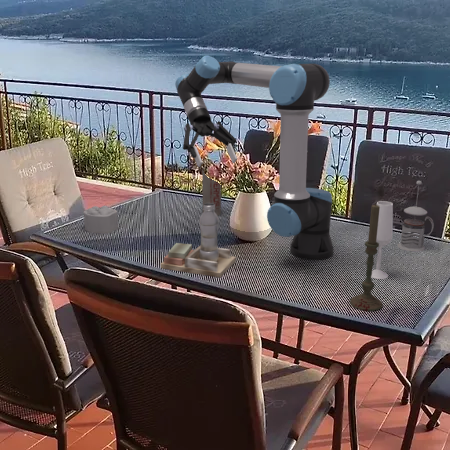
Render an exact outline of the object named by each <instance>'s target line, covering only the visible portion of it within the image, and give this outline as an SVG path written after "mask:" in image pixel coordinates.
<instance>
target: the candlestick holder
mask: <svg viewBox="0 0 450 450" xmlns="http://www.w3.org/2000/svg"><path fill="white" fill-rule="evenodd" d="M379 209H380V206H378V205H377V203H374V204H372V205H371V208H370V217H369V226H368V227H369V228H368V240H367V241H365V243H364V246H366V247H365V251H364V252H365V254H366V255H368V256H367V259H366V261H365V263H366V264H365V265H366V272H365V273H366V274H365V275H366V277H365V279H364V280H363V281H362V282H361V288H362V289H363V293H361V294H357V295H355V296H353V297H351V298H350V300H349V304H350V306H351V307H353V308H354V307H355V308H354V309H356V308H358V309H357V310H359V309H360V310H359V311H362V310H364V311H363V312H376V311H375V310H377V311H379V309H380V310H381V309H382V308H383V307H384V306H383V305H384V304H383V302H382V301H381V300H380V299H379V298H378V297H376V296H374V295H373V294H372V291H373V290H374V288H375V283H374V282H373V280H372V277H371V275H372V270H373V268H374V267H373V266H374V265H375V262H374V261H375V258H374V256H375V255H378V249H377V248H378V246H379V243H377V242H376V239H377V229H378V219H379Z"/></svg>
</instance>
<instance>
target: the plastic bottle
mask: <svg viewBox="0 0 450 450" xmlns="http://www.w3.org/2000/svg"><path fill="white" fill-rule="evenodd" d="M203 210H204V212H203ZM214 210H215V204H214V203H205V204H204V205H203V204H202V213H201V215H200V216H199V221H198V222H199V228H200V245H201V248H200V253H199V257H200V260H207V261H214V262H217V260H218V257H219V252H218V248H219V247H218V230H219V223H220V219H219V216H217V214H216V213H215V212H214Z"/></svg>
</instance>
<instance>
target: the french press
mask: <svg viewBox="0 0 450 450" xmlns="http://www.w3.org/2000/svg"><path fill="white" fill-rule="evenodd" d="M422 183H423V182H422V181H421V180H417V181H416V185H418V187H417V191H420V185H422ZM418 196H419V192H417V195H416V199H418ZM417 205H418V200H416V202H415V206H409V207H407V208H404V209H403V212H404V213H405V214H407V215H410V216H414V218H406V219H404V220H403V224H402V228H401V229H402V230H401V235H400V236H401V238H400V242H399V243H397V248H399V249H400V250H402V251H407V252H415V253H417V252H423V251H426V247H425V245H424V242H425V238H426V237H428V236H430V235H431V233H432V232H433V231H434V226H435V224H434V220H433V219H432V218H431V217H430V216H428V215H427V214H428V210H426V209H424V208H423V207H420V206H417ZM416 216H418V217H419V216H425V217H424V220H421V219H416ZM427 220H428V221H430V223H431V231H430V232H429V233H427V234H425V230H426V229H425V228H426V226H425V222H426V221H427Z"/></svg>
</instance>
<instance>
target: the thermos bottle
mask: <svg viewBox="0 0 450 450" xmlns="http://www.w3.org/2000/svg"><path fill="white" fill-rule="evenodd" d="M201 171H202V173H201V175H202V182H201V183H202V206H203V205H204V204H205V203H214V204H215V210H214V212H215V213H216V214H217V216H218V217H219V216H221V214H222V184H221V185H220V184H219V183H218V182H216V181H214V180H212V179H210V178H208V177H207V176H206V175H205V173H204V171H203V170H202V169H201ZM203 212H204V210H203V209H202V213H203Z"/></svg>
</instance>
